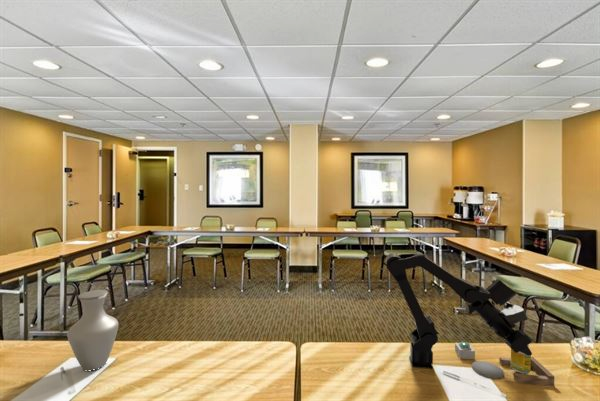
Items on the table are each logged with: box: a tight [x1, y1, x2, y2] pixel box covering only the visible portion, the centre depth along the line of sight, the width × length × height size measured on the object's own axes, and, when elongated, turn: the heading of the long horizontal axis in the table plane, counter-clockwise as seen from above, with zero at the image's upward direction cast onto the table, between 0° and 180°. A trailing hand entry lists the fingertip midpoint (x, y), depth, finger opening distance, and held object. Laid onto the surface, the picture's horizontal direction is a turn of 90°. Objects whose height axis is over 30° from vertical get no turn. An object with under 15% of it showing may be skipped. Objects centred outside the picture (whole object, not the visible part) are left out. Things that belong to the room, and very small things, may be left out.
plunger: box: [459, 341, 471, 349], centre depth 111 cm, size 3×3×4 cm
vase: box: [66, 289, 120, 371], centre depth 104 cm, size 14×14×25 cm
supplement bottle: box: [510, 344, 532, 375], centre depth 100 cm, size 5×5×10 cm
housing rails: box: [498, 356, 555, 387], centre depth 100 cm, size 10×11×3 cm
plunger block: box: [454, 342, 476, 360], centre depth 111 cm, size 5×5×3 cm
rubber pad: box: [471, 360, 505, 380], centre depth 102 cm, size 9×9×1 cm
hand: (525, 350), depth 99 cm, fingers closed on supplement bottle, 5 cm apart
